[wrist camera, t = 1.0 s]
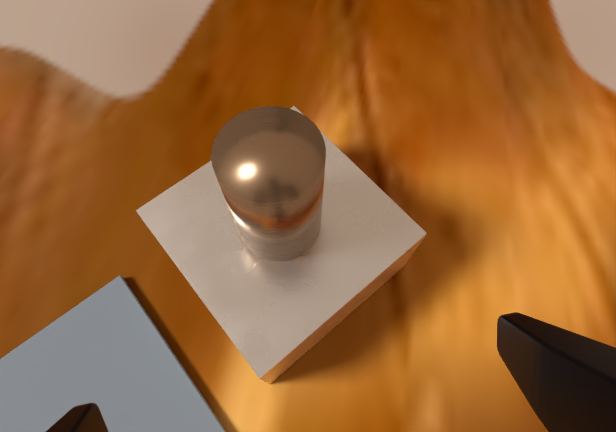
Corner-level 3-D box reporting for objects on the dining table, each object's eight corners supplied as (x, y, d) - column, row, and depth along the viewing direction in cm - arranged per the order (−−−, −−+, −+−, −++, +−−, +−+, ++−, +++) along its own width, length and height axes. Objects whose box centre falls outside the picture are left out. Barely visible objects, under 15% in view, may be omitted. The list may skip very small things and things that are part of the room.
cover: (404, 265, 24) (473, 166, 14) (269, 384, 21) (236, 365, 11) (296, 155, 27) (289, 11, 17) (167, 246, 24) (71, 137, 14)
